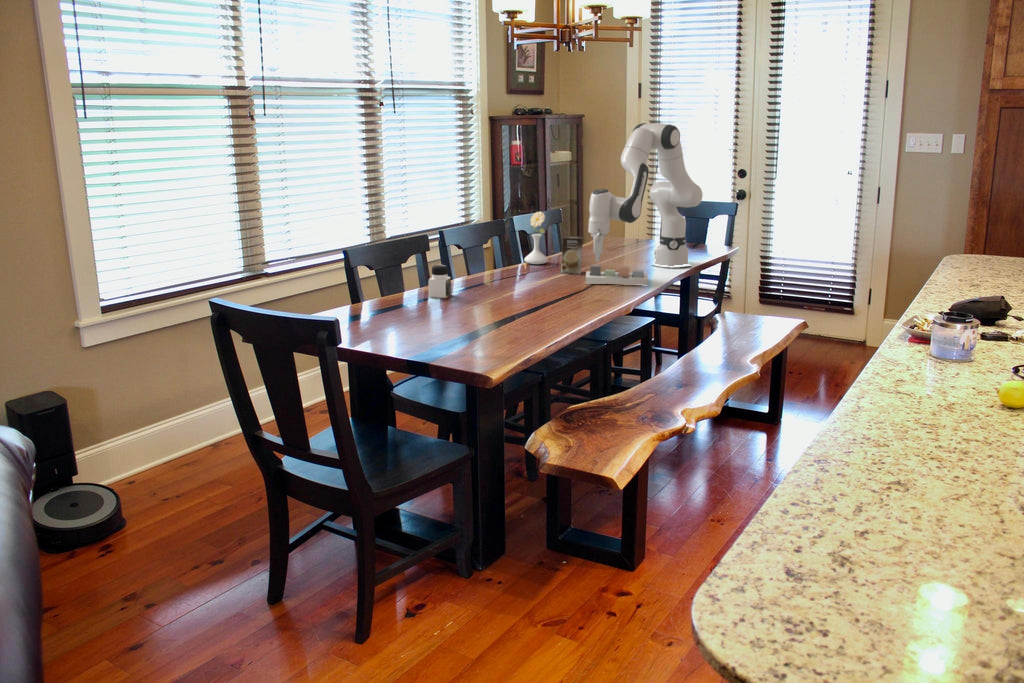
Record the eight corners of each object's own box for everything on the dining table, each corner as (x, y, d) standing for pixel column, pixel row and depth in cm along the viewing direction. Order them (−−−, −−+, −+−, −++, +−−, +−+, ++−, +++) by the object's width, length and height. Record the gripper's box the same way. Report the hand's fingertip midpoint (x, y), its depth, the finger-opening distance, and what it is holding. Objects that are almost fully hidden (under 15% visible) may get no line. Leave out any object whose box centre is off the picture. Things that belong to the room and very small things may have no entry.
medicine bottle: (446, 298, 332) (445, 267, 329) (428, 297, 334) (428, 266, 331) (451, 294, 339) (450, 264, 336) (433, 293, 341) (433, 263, 337)
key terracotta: (618, 275, 368) (618, 265, 367) (628, 276, 368) (629, 266, 367) (618, 277, 364) (618, 267, 363) (628, 278, 364) (629, 267, 363)
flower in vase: (520, 262, 409) (520, 209, 403) (541, 260, 414) (542, 208, 407) (532, 267, 398) (533, 212, 391) (553, 265, 403) (555, 211, 396)
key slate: (632, 280, 368) (632, 270, 367) (642, 280, 368) (643, 270, 367) (632, 282, 364) (633, 272, 363) (643, 282, 364) (643, 272, 362)
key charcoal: (590, 274, 370) (590, 264, 368) (600, 275, 369) (601, 265, 368) (590, 276, 365) (590, 266, 364) (600, 277, 365) (600, 267, 364)
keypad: (586, 277, 375) (586, 270, 374) (646, 279, 372) (646, 272, 371) (585, 284, 362) (585, 276, 361) (647, 286, 359) (648, 278, 358)
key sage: (604, 279, 369) (604, 269, 368) (614, 279, 369) (614, 269, 368) (604, 281, 365) (604, 271, 364) (614, 281, 365) (614, 271, 364)
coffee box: (560, 273, 384) (561, 237, 379) (561, 271, 390) (562, 235, 385) (581, 274, 383) (582, 238, 378) (581, 271, 389) (582, 236, 385)
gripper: (606, 232, 351) (604, 265, 355) (606, 225, 371) (604, 257, 374) (591, 231, 352) (589, 264, 355) (591, 225, 371) (590, 257, 375)
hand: (597, 261), depth 365 cm, fingers closed
